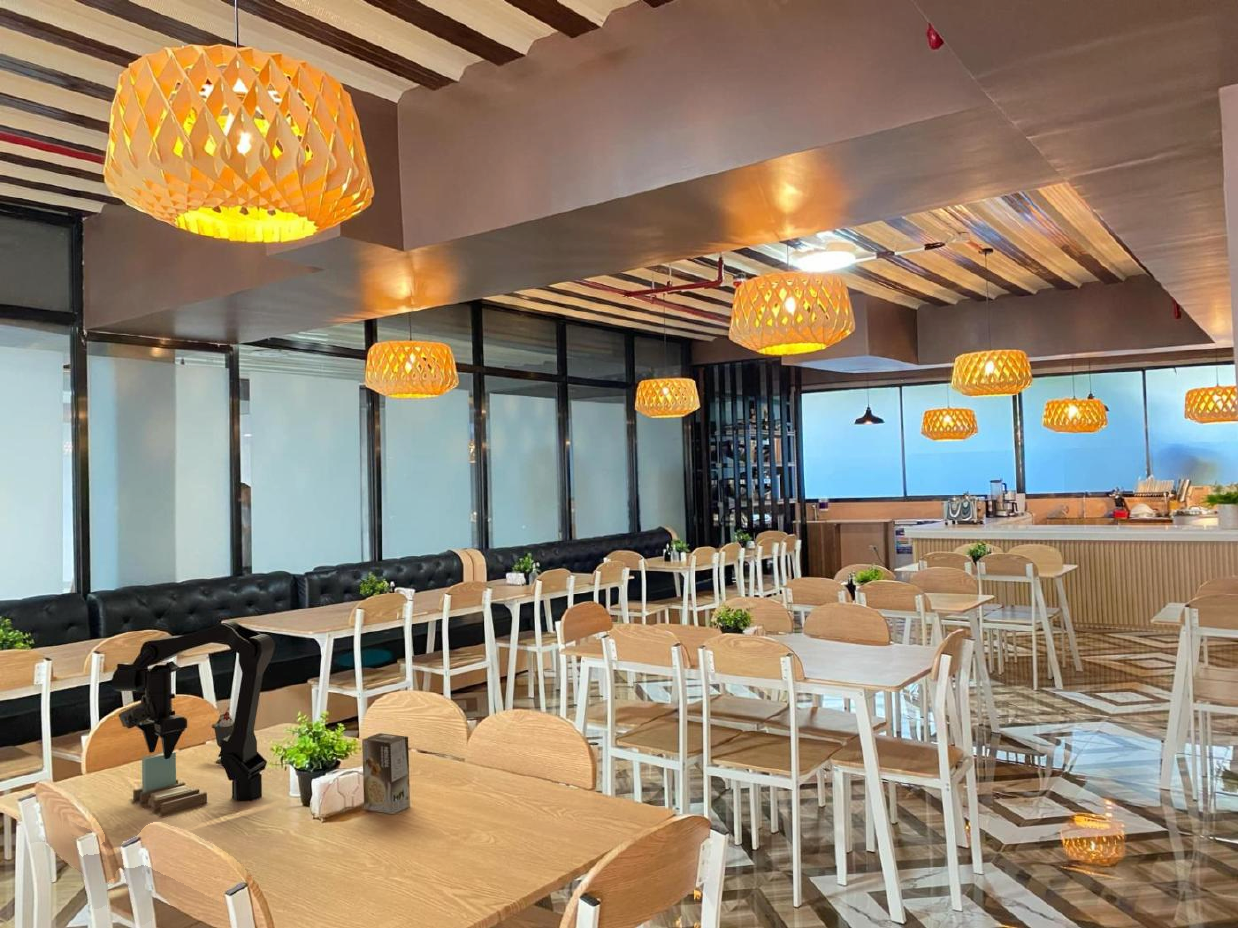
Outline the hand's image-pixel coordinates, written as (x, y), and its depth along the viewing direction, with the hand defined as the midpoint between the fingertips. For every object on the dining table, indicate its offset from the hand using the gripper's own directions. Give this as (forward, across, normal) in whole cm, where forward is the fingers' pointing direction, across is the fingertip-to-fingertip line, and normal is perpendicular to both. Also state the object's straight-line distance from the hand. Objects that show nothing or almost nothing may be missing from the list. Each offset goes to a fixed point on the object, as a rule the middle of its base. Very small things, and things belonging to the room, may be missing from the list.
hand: (159, 755), depth 216 cm
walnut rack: (+11, +6, 0) cm, 12 cm away
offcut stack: (+10, +6, 0) cm, 12 cm away
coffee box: (+11, +49, +31) cm, 59 cm away
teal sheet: (+10, 0, 0) cm, 10 cm away
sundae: (+11, -21, +25) cm, 35 cm away
